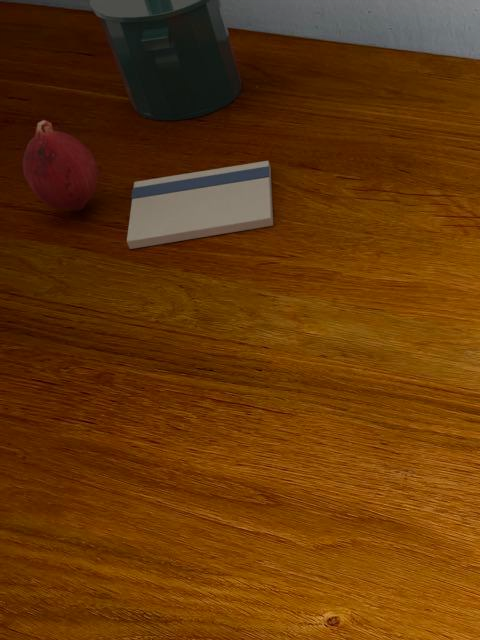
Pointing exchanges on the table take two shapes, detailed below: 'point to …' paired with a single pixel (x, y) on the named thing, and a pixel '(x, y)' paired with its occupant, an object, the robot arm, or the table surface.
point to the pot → (176, 63)
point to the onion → (60, 168)
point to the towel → (200, 204)
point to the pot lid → (142, 9)
